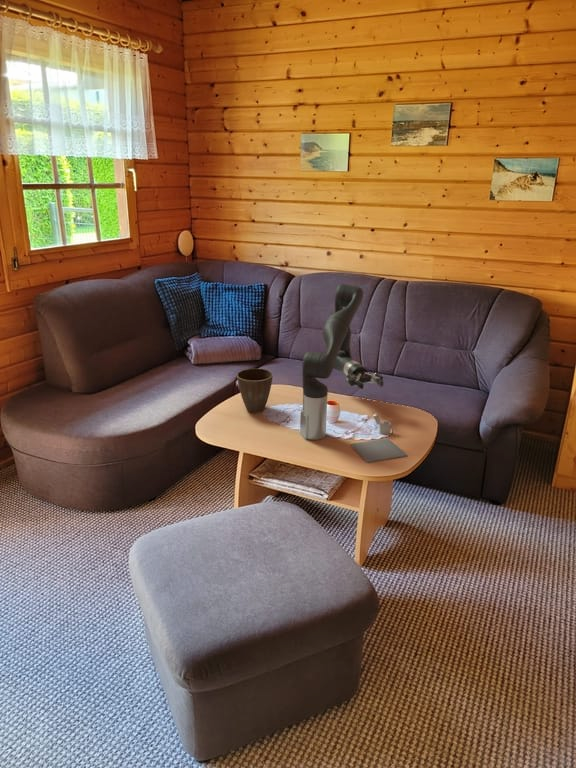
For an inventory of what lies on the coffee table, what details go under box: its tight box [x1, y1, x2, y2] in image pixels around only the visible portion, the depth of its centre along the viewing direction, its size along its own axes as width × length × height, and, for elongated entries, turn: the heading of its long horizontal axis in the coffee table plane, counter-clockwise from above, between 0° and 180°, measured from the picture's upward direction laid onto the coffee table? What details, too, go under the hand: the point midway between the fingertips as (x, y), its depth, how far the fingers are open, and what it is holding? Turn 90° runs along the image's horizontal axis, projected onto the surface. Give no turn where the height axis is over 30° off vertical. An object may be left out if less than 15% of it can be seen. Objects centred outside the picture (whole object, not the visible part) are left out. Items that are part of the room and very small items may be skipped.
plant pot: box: [236, 368, 274, 414], centre depth 234 cm, size 15×15×16 cm
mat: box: [349, 437, 408, 464], centre depth 204 cm, size 16×14×1 cm
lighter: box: [372, 413, 392, 435], centre depth 216 cm, size 7×2×8 cm, turn 86°
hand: (372, 385), depth 221 cm, fingers open, 8 cm apart
